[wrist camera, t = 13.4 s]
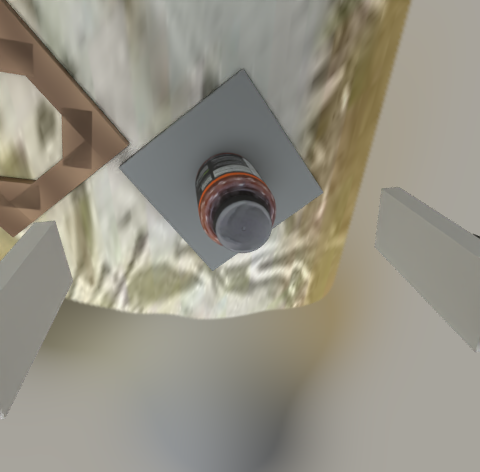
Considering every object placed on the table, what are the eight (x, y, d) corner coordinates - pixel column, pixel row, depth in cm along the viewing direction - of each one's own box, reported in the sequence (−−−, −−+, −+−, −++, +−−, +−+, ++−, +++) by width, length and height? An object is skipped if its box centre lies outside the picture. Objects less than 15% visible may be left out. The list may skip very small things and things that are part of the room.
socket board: (0, -6, 29) (-7, -9, 28) (129, 143, 34) (127, 145, 33) (-124, 109, 31) (-135, 111, 30) (18, 232, 36) (13, 237, 35)
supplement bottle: (250, 214, 38) (276, 271, 28) (191, 207, 37) (195, 264, 27) (262, 155, 36) (295, 194, 25) (199, 146, 34) (207, 182, 24)
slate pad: (241, 68, 33) (243, 69, 32) (320, 189, 39) (323, 192, 38) (120, 165, 35) (118, 167, 34) (211, 266, 41) (212, 270, 40)
